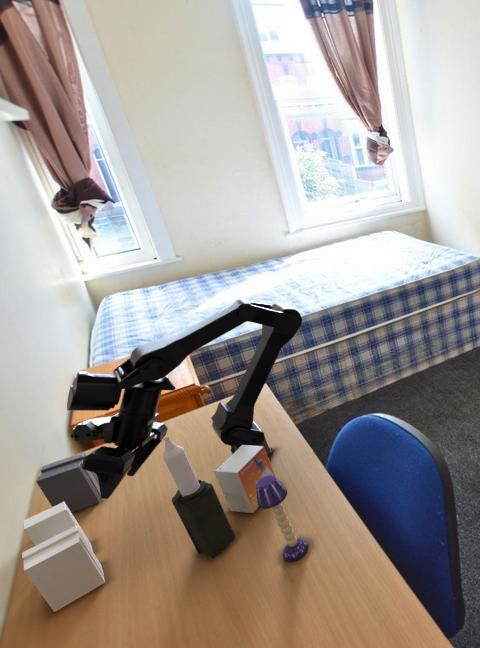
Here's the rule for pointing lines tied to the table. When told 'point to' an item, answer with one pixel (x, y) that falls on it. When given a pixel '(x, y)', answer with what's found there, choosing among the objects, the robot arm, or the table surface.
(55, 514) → the white tall block
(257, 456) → the small box
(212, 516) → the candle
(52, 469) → the grey books
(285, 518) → the toy lamp
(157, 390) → the robot arm
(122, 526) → the table surface
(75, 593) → the white books
